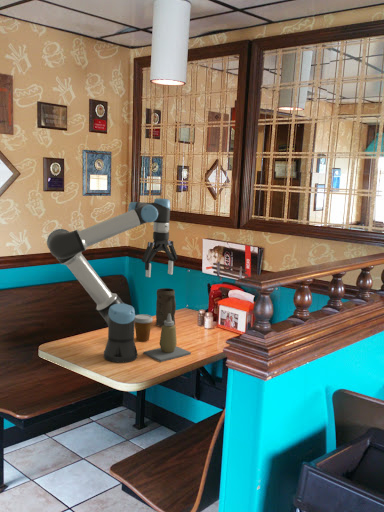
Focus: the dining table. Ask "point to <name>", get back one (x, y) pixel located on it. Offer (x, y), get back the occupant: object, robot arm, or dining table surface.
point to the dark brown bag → (165, 305)
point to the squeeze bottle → (168, 336)
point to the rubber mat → (166, 354)
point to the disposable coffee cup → (143, 327)
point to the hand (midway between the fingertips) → (159, 275)
